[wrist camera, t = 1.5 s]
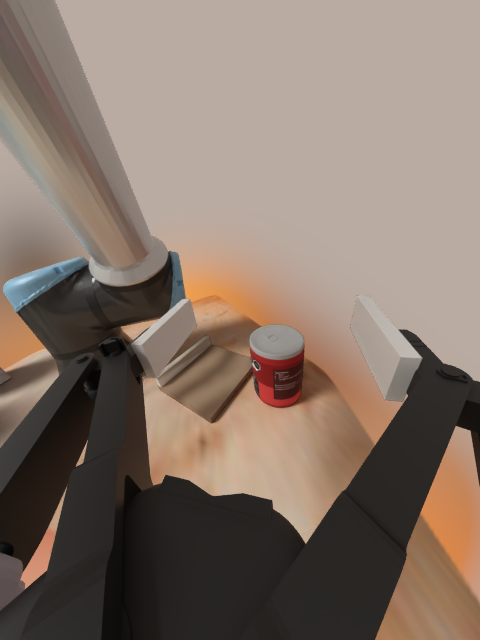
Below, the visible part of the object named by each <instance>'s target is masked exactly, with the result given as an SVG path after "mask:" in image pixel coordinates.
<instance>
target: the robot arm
mask: <svg viewBox="0 0 480 640" xmlns="http://www.w3.org/2000/svg"><path fill="white" fill-rule="evenodd" d="M0 140H1V141H2V143H3V144H4V145H5V147H6V148H7V149H8V150H9V152H10V153H11V154H12V155H13V157H14V158H15V159H16V161H17V162H18V163H19V164H20V166H21V167H22V168H23V169H24V171H25V172H26V173H27V175H28V176H29V177H30V179H31V180H32V181H33V182H34V184H35V185H36V186H37V188H38V189H39V190H40V191H41V193H42V194H43V195H44V196H45V198H46V199H47V200H48V202H49V203H50V204H51V205H52V207H53V208H54V209H55V211H56V212H57V213H58V214H59V216H60V217H61V218H62V219H63V221H64V222H65V223H66V224H67V226H68V227H69V228H70V230H71V231H72V232H73V233H74V235H75V236H76V237H77V239H78V240H79V241H80V242H81V244H82V245H83V246H84V248H85V249H86V250H87V251H88V253H89V254H90V255H91V259H90V261H87V260H86V259H85V258H84V257H79V258H74V259H70V260H67V261H64V262H60V263H57V264H54V265H51V266H47V267H45V268H41V269H39V270H35V271H32V272H30V273H27V274H24V275H21V276H19V277H16V278H13V279H11V280H9V281H8V282H6V283H5V285H4V287H3V292H4V294H5V295H6V297H7V298H8V300H9V301H10V303H11V304H12V306H13V307H14V311H15V312H16V313H18V315H19V316H20V317H21V318H22V320H23V321H24V322H25V323H26V324H27V325H28V327H29V328H30V329H31V330H32V332H33V333H34V334H35V335H36V337H37V338H38V339H39V340H40V341H41V343H42V344H43V345H44V346H45V347H46V349H47V350H48V351H49V352H50V354H51V355H52V356H53V357H54V359H55V360H56V363H57V367H58V372H59V377H58V378H57V379H56V380H55V382H54V383H53V384H52V385H51V386H50V388H49V389H48V390H47V391H46V393H45V394H44V395H43V396H42V398H41V399H40V400H39V401H38V402H37V404H36V405H35V406H34V407H33V409H32V410H31V411H30V412H29V414H28V415H27V416H26V417H25V418H24V420H23V421H22V422H21V423H20V425H19V426H18V427H17V428H16V430H15V431H14V432H13V433H12V434H11V436H10V437H9V438H8V439H7V441H6V442H5V443H4V444H3V446H2V447H1V448H0V640H375V638H376V636H377V633H378V630H379V628H380V625H381V623H382V620H383V618H384V615H385V613H386V610H387V608H388V605H389V603H390V600H391V597H392V595H393V592H394V590H395V587H396V585H397V582H398V580H399V577H400V575H401V572H402V569H403V566H404V564H405V560H406V556H407V553H406V548H407V544H408V542H409V539H410V537H411V534H412V532H413V529H414V527H415V524H416V522H417V520H418V517H419V515H420V512H421V510H422V507H423V505H424V502H425V500H426V497H427V495H428V493H429V490H430V487H431V485H432V482H433V480H434V478H435V475H436V473H437V470H438V468H439V465H440V463H441V460H442V458H443V456H444V453H445V451H446V448H447V446H448V443H449V441H450V438H451V436H452V434H453V431H454V429H455V426H458V427H461V428H464V429H467V430H470V431H471V436H472V442H473V448H474V454H475V460H476V467H477V473H478V479H479V485H480V382H478V381H474V380H473V379H472V378H471V377H470V376H469V375H468V374H467V373H466V372H464V371H463V370H461V369H459V368H456V367H454V366H451V365H447V364H443V363H442V362H441V360H440V359H439V358H438V357H437V356H436V355H435V354H434V353H433V352H432V351H431V350H430V349H429V348H428V347H427V346H426V345H425V344H424V343H423V342H422V341H421V340H420V339H419V338H418V337H417V335H415V334H413V333H412V332H410V331H408V330H398V329H397V328H396V327H395V326H394V325H393V323H392V322H391V321H390V320H389V319H388V317H387V316H386V315H385V314H384V313H383V312H382V310H381V309H380V308H379V307H378V306H377V305H376V303H375V302H374V301H373V300H372V299H371V297H370V296H369V295H356V300H355V305H354V310H353V315H352V321H351V326H350V329H351V331H352V333H353V335H354V337H355V339H356V341H357V343H358V345H359V348H360V349H361V352H362V353H363V356H364V358H365V360H366V362H367V364H368V366H369V368H370V370H371V373H372V375H373V377H374V379H375V381H376V383H377V385H378V387H379V389H380V391H381V393H382V395H383V398H384V400H390V401H401V402H402V401H403V400H404V398H405V396H406V394H408V397H407V399H406V400H405V402H404V403H403V405H402V406H401V408H400V409H399V411H398V412H397V414H396V415H395V417H394V418H393V420H392V421H391V423H390V424H389V426H388V427H387V429H386V430H385V432H384V433H383V435H382V436H381V438H380V439H379V441H378V442H377V444H376V445H375V447H374V448H373V450H372V451H371V453H370V454H369V456H368V457H367V459H366V460H365V462H364V463H363V465H362V466H361V468H360V469H359V471H358V472H357V474H356V475H355V477H354V478H353V480H352V481H351V483H350V484H349V486H348V487H347V488H346V489H345V490H344V491H342V493H341V494H340V495H339V496H338V498H337V499H336V500H335V502H334V503H333V505H332V506H331V508H330V509H329V511H328V512H327V514H326V515H325V517H324V518H323V520H322V521H321V523H320V524H319V525H318V527H317V528H316V530H315V531H314V533H313V534H312V536H311V537H310V539H309V540H308V542H307V543H306V544H305V542H304V540H303V539H302V537H301V536H300V534H299V533H298V532H297V530H296V529H295V528H294V526H293V525H292V524H291V523H290V522H289V521H288V520H287V519H286V518H285V517H283V516H282V515H281V514H280V513H278V512H277V511H275V510H274V509H273V504H272V500H269V499H264V498H260V497H256V496H252V495H248V494H244V493H242V494H232V495H222V496H211V495H209V494H208V493H207V492H205V491H204V490H202V489H201V488H199V487H198V486H196V485H195V484H193V483H192V482H191V481H189V480H185V479H181V478H177V477H173V476H168V475H165V477H164V479H163V482H162V483H161V484H157V485H154V486H153V484H152V481H151V477H150V467H149V455H148V443H147V431H146V419H145V407H144V394H143V382H142V377H141V375H140V374H141V373H142V372H143V371H144V372H145V374H146V376H147V377H152V378H157V377H158V376H159V374H160V373H161V372H162V371H163V369H164V368H165V367H166V365H167V364H168V363H169V361H170V360H171V359H172V358H173V356H174V355H175V354H176V352H177V351H178V350H179V348H180V347H181V346H182V345H183V343H184V342H185V341H186V339H187V338H188V337H189V335H190V334H191V333H192V332H193V330H194V329H195V328H196V326H197V323H196V319H195V315H194V312H193V308H192V304H191V301H190V299H186V297H185V290H184V284H183V278H182V271H181V265H180V260H179V255H178V253H176V252H172V251H169V252H168V251H167V248H166V246H165V245H164V243H163V242H162V241H161V240H159V239H158V238H156V237H154V236H151V235H150V232H149V230H148V227H147V225H146V222H145V220H144V217H143V215H142V212H141V210H140V207H139V205H138V203H137V200H136V198H135V195H134V193H133V190H132V188H131V185H130V183H129V180H128V178H127V176H126V173H125V171H124V168H123V166H122V163H121V161H120V158H119V156H118V153H117V151H116V149H115V146H114V144H113V142H112V139H111V136H110V134H109V132H108V129H107V127H106V124H105V122H104V119H103V117H102V114H101V112H100V110H99V107H98V105H97V102H96V100H95V97H94V95H93V93H92V90H91V88H90V85H89V83H88V80H87V78H86V75H85V73H84V71H83V68H82V66H81V63H80V61H79V58H78V56H77V53H76V51H75V48H74V46H73V44H72V41H71V39H70V36H69V34H68V31H67V29H66V26H65V24H64V21H63V19H62V17H61V14H60V12H59V9H58V7H57V4H56V2H55V0H0ZM156 319H159V320H158V321H157V322H156V323H155V324H153V325H152V326H151V327H149V328H148V329H146V330H145V331H144V332H143V333H141V334H140V335H139V336H138V338H136V339H134V340H132V339H131V338H130V337H129V336H128V335H127V334H126V333H125V332H123V330H122V329H121V327H122V326H126V325H131V324H136V323H141V322H146V321H151V320H156ZM87 440H88V442H87ZM86 442H87V448H86V453H85V458H84V462H83V464H81V465H79V466H77V467H76V464H77V462H78V460H79V458H80V456H81V453H82V451H83V449H84V447H85V444H86ZM67 484H68V486H67ZM66 487H67V490H66V494H65V498H64V502H63V506H62V511H61V515H60V519H59V523H58V527H57V532H56V536H55V540H54V544H53V548H52V553H51V557H50V561H49V565H48V569H47V571H46V572H45V573H44V574H42V575H41V576H40V577H39V578H38V579H37V580H35V581H34V582H33V583H32V584H31V585H30V586H29V587H27V588H26V589H25V583H24V582H23V581H21V580H20V579H21V576H22V573H23V571H24V570H25V568H26V567H27V565H28V563H29V562H30V560H31V558H32V556H33V555H34V553H35V551H36V549H37V548H38V546H39V544H40V542H41V540H42V539H43V536H44V534H45V532H46V530H47V528H48V526H49V524H50V522H51V520H52V518H53V516H54V513H55V511H56V509H57V507H58V505H59V502H60V500H61V498H62V496H63V493H64V491H65V489H66Z"/></svg>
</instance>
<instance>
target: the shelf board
mask: <svg viewBox="0 0 480 640" xmlns="http://www.w3.org/2000/svg"><path fill="white" fill-rule="evenodd" d="M252 371H253V370H252V362H251V358H248V357H245V356H242V355H240V354H237V353H234V352H231V351H228V350H226V349H223V348H220V347H217V346H214V345H212V344H211V340H210V336H208V335H206V336H204V337H203V338H202V339H201V340H199V341H198V342H197V343H196V344H194V345H193V346H192V347H191V348H189V349H188V350H187V351H185V352H184V353H183V354H182V355H180V356H179V357H178V358H177V359H175V360H174V361H173V362H172V363H170V364H169V365H168V366H166V367H165V368H164V369H163V371H162V372H161V373H160V374H159V376H158V377H157V378H155V380H156V382H157V384H158V386H159V389H160V390H161V391H162V392H164V393H166V394H167V395H169V396H170V397H172V398H173V399H175V400H176V401H178V402H179V403H181V404H183V405H184V406H186V407H187V408H189V409H190V410H192V411H193V412H195V413H196V414H198V415H200V416H201V417H203V418H204V419H206V420H207V421H209V422H210V423H213V421H214V420H215V419H216V418H217V416H218V415H219V414H220V412H221V411H222V410H223V409H224V407H225V406H226V405H227V403H228V402H229V401H230V399H231V398H232V397H233V396H234V394H235V393H236V392H237V390H238V389H239V388H240V387H241V385H242V384H243V383H244V381H245V380H246V379H247V377H248V376H249V375H250V374H251V372H252Z"/></svg>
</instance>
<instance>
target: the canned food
mask: <svg viewBox="0 0 480 640" xmlns="http://www.w3.org/2000/svg"><path fill="white" fill-rule="evenodd" d="M250 354H251V362H252V370H253V379H254V387H255V391H256V393H257V395H258V396H259V398H260V399H261V400H262V401H263V402H264V403H266V404H267V405H269V406H272V407H277V408H284V407H288V406H291V405H292V404H294V403H295V402H296V401H297V400H298V398H299V396H300V394H301V388H302V375H303V362H304V338H303V335H302V334H301V333H300V332H299V331H298V330H296V329H294V328H292V327H289V326H285V325H278V324H277V325H276V324H274V325H266V326H262V327H260V328H258V329H256V330H255V331H254V332H252V334H251V335H250Z"/></svg>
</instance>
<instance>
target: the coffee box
mask: <svg viewBox="0 0 480 640" xmlns="http://www.w3.org/2000/svg"><path fill="white" fill-rule="evenodd" d="M10 378H11V377H10V376H9V375H8V374H7V373H6V372H5V371H4V370H3V369H2V368H0V384H2V383H4V382H5V381H7V380H8V379H10Z"/></svg>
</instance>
